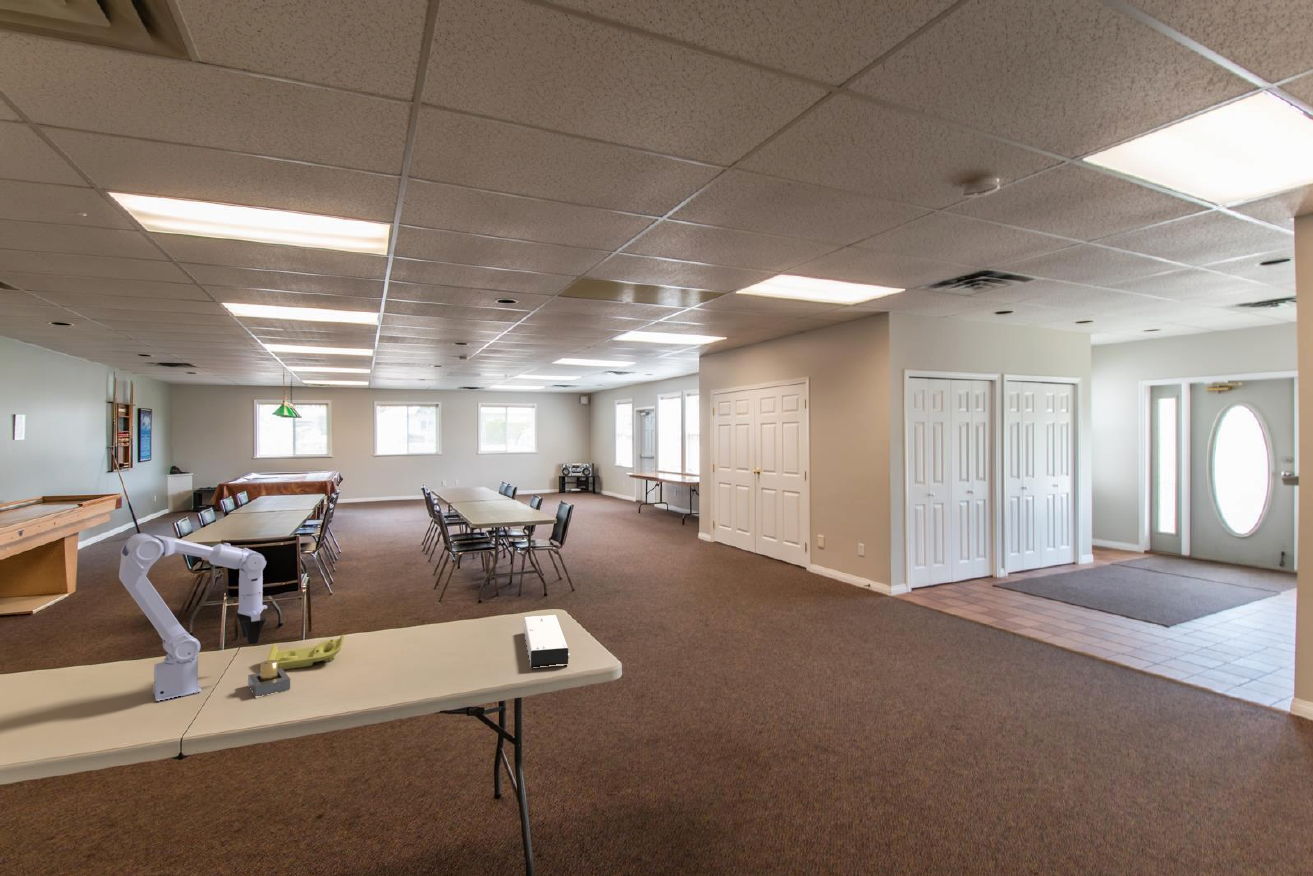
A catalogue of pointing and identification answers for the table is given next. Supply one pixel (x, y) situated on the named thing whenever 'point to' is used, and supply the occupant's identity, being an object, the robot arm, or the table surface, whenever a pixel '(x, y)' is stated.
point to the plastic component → (306, 654)
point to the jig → (269, 683)
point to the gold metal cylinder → (268, 670)
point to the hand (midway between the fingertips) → (250, 640)
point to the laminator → (545, 641)
